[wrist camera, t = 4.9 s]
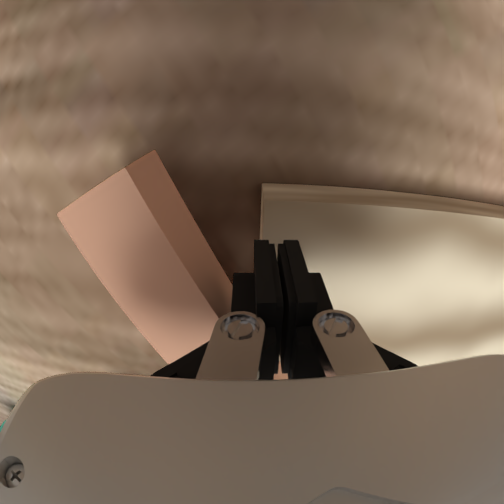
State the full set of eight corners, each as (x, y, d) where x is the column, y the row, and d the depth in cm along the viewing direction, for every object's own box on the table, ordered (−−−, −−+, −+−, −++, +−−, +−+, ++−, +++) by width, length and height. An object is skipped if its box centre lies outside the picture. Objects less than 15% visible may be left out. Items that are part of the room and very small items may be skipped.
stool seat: (67, 187, 14) (16, 221, 10) (541, 213, 14) (581, 241, 10) (128, 399, 22) (115, 444, 18) (462, 384, 23) (480, 419, 19)
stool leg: (311, 409, 18) (317, 448, 15) (265, 421, 18) (266, 460, 16) (157, 148, 11) (127, 165, 8) (93, 187, 11) (54, 215, 9)
